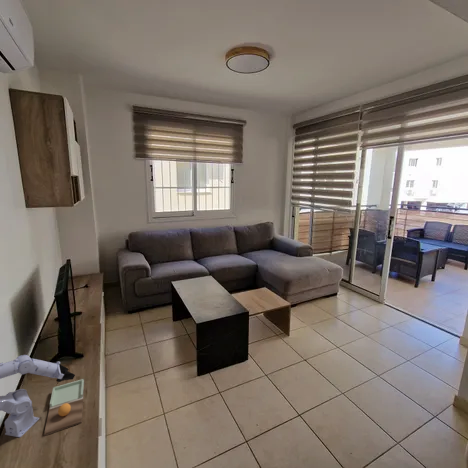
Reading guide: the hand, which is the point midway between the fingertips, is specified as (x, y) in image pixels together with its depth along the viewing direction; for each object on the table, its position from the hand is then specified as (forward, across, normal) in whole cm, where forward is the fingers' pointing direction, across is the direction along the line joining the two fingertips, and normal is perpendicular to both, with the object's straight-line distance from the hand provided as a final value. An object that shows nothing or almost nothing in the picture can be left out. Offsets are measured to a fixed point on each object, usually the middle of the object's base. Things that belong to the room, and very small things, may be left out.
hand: (70, 373), depth 130 cm
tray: (+8, +5, +10) cm, 14 cm away
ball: (+2, -8, +13) cm, 15 cm away
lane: (+6, -2, +13) cm, 15 cm away
